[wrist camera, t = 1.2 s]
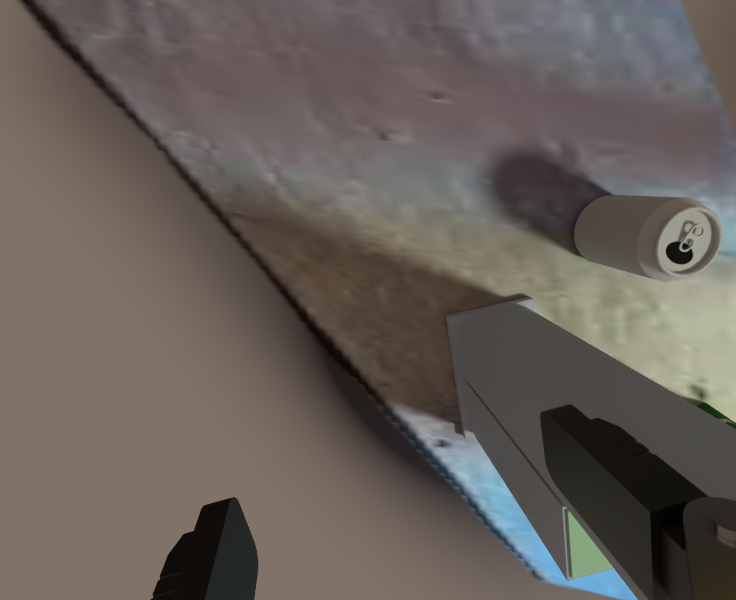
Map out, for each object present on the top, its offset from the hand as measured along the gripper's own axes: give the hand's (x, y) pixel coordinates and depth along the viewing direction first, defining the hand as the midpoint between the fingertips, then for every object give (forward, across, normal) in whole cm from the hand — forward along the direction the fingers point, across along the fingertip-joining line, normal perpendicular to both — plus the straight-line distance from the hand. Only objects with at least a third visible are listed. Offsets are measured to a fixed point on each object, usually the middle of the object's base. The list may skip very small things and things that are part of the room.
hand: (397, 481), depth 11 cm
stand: (+35, -16, +18) cm, 42 cm away
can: (+35, -30, +4) cm, 47 cm away
